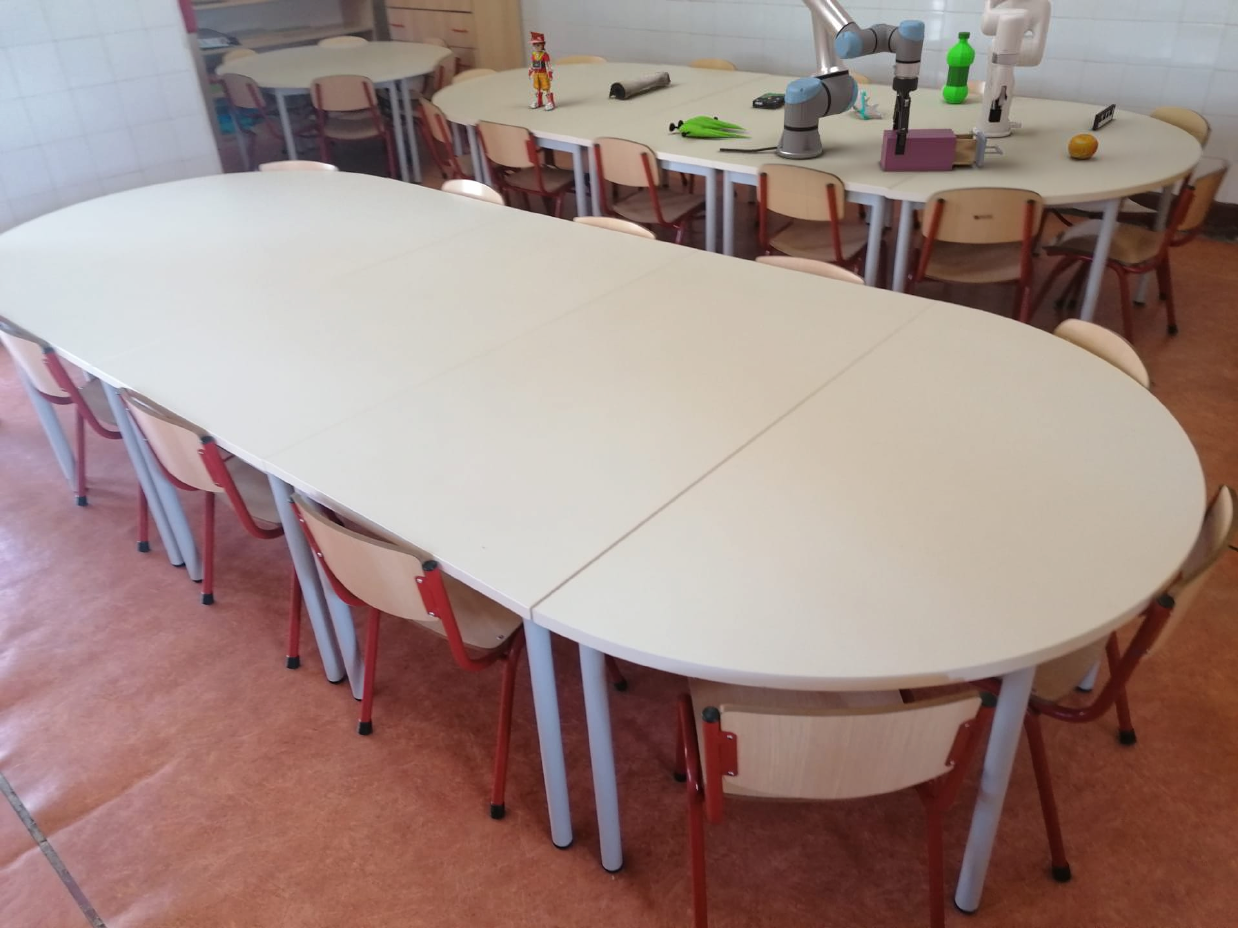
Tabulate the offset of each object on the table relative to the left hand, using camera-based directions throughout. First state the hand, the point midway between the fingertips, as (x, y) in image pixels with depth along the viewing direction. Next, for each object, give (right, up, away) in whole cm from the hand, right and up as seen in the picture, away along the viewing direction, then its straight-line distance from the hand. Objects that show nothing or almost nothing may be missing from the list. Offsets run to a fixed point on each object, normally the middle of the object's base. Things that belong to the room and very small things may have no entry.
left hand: (897, 149), depth 289 cm
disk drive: (-28, +46, +78) cm, 94 cm away
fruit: (+59, -3, 0) cm, 59 cm away
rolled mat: (-80, +63, +108) cm, 149 cm away
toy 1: (-123, +51, +94) cm, 163 cm away
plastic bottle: (+43, +42, +66) cm, 89 cm away
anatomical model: (+5, +33, +57) cm, 66 cm away
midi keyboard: (+82, +19, +29) cm, 89 cm away
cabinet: (+7, -5, +2) cm, 8 cm away
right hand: (+28, +6, -8) cm, 30 cm away
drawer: (+19, -4, 0) cm, 20 cm away
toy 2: (-55, +22, +46) cm, 75 cm away
